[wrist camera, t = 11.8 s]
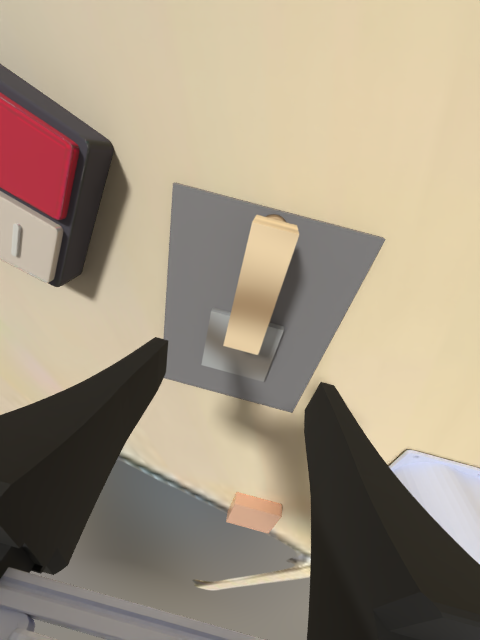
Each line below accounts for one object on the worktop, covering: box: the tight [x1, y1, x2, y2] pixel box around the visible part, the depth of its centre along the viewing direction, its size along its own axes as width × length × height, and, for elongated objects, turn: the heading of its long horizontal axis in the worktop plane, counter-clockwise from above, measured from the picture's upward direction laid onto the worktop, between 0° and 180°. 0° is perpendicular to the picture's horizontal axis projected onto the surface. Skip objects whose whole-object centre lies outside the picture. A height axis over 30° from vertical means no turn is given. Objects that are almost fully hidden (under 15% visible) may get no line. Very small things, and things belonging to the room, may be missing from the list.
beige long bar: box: [201, 214, 299, 382], centre depth 18 cm, size 14×6×4 cm, turn 167°
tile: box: [226, 492, 282, 533], centre depth 38 cm, size 7×2×7 cm
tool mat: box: [164, 183, 385, 413], centre depth 21 cm, size 14×18×1 cm
